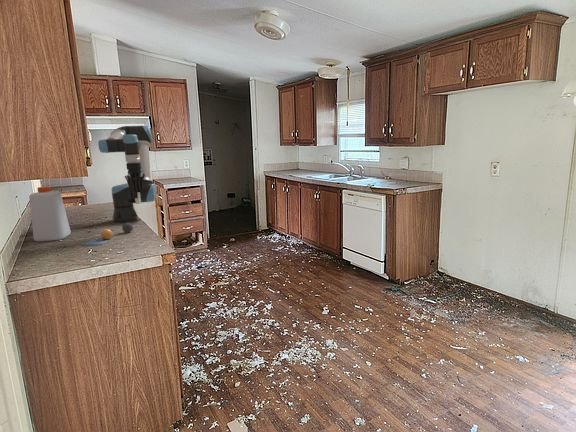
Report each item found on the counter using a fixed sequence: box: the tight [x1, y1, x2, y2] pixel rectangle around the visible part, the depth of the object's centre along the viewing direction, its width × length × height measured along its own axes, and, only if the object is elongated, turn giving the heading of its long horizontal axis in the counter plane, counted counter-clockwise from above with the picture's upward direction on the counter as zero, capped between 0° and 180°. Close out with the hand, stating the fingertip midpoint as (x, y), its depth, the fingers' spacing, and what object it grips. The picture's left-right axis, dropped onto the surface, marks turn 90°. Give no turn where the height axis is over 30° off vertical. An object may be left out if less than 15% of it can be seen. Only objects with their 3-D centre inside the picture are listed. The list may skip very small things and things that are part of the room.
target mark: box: [81, 238, 109, 247], centre depth 184 cm, size 12×12×1 cm
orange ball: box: [100, 228, 113, 240], centre depth 190 cm, size 6×6×6 cm
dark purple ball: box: [121, 222, 134, 233], centre depth 202 cm, size 6×6×6 cm
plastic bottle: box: [28, 185, 72, 243], centre depth 194 cm, size 15×15×28 cm
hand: (138, 203), depth 209 cm, fingers closed
